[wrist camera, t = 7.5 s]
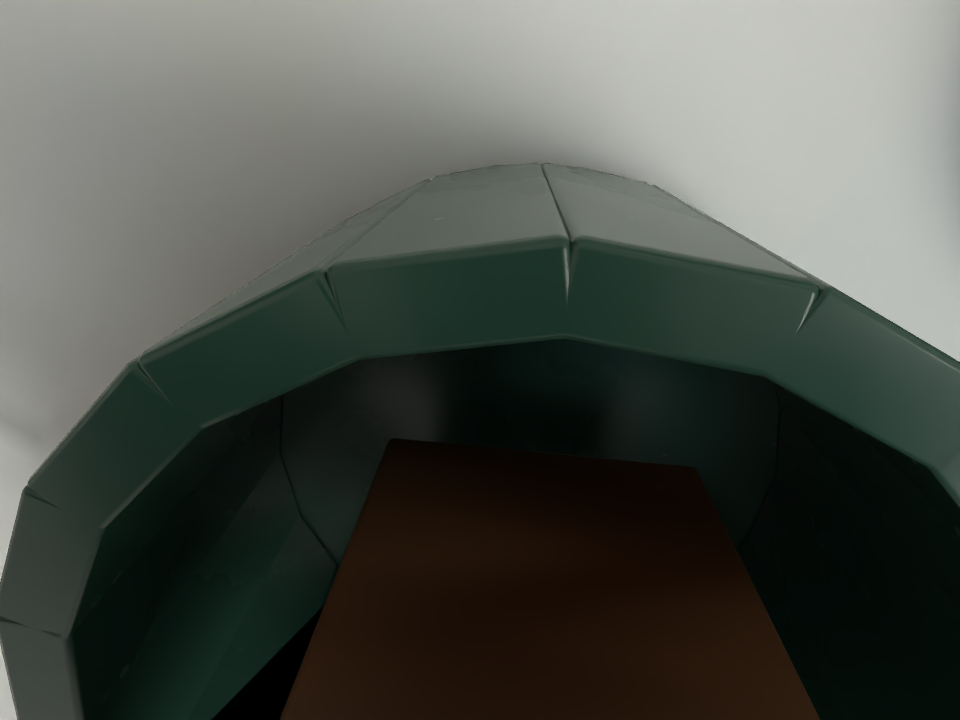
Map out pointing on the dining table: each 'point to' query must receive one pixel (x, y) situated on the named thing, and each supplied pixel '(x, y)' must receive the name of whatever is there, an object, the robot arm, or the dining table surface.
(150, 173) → the dining table surface
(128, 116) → the dining table surface
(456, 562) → the block
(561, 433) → the tin
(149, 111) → the dining table surface
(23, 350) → the dining table surface
